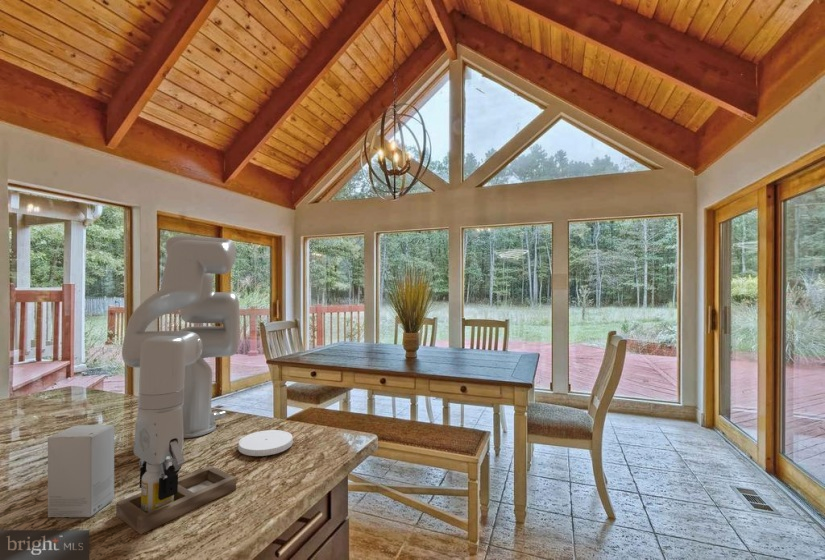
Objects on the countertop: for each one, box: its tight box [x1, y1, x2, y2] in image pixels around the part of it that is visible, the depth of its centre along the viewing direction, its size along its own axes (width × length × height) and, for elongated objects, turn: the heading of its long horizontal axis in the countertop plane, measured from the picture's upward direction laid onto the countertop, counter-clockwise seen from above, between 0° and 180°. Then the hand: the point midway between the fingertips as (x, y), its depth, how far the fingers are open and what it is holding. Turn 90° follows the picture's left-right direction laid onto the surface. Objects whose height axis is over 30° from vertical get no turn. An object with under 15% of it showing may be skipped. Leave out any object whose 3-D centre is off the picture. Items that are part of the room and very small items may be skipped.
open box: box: [115, 465, 237, 535], centre depth 78 cm, size 18×10×2 cm, turn 148°
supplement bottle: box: [140, 456, 174, 513], centre depth 75 cm, size 5×5×10 cm
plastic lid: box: [237, 429, 294, 457], centre depth 106 cm, size 14×14×2 cm
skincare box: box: [47, 424, 115, 518], centre depth 75 cm, size 8×7×16 cm
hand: (158, 489), depth 75 cm, fingers open, 6 cm apart
